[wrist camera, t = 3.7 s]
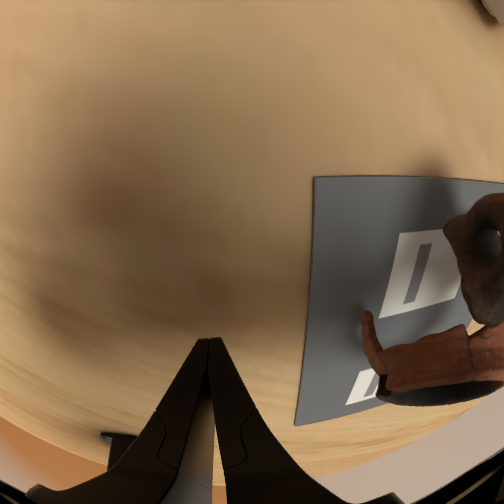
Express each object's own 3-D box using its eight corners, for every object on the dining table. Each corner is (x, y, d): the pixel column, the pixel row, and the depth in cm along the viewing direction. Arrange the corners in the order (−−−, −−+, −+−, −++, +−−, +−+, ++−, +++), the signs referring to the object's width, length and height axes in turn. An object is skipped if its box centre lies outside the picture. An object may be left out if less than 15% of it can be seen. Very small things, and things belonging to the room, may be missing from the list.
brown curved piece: (480, 291, 14) (487, 402, 9) (364, 293, 18) (350, 409, 13) (535, 145, 6) (617, 307, 1) (353, 135, 10) (350, 338, 5)
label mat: (429, 384, 20) (430, 386, 20) (294, 424, 19) (294, 427, 19) (515, 184, 10) (518, 186, 10) (313, 176, 9) (316, 178, 9)
